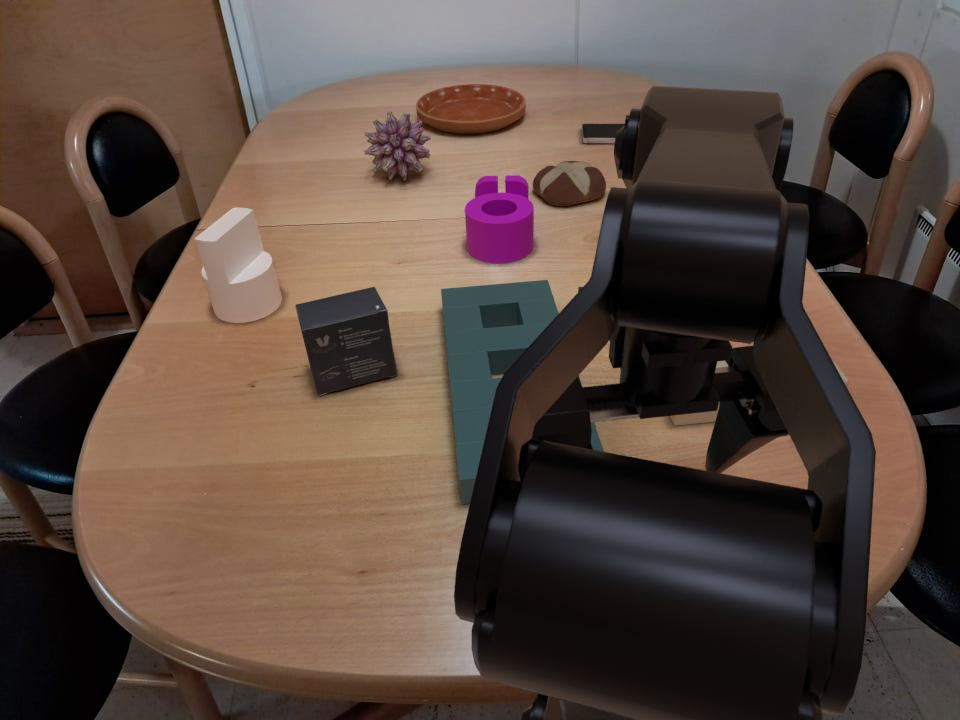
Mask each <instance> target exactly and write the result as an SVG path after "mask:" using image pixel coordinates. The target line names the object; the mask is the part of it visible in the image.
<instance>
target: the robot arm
mask: <svg viewBox="0 0 960 720" xmlns="http://www.w3.org/2000/svg"><path fill="white" fill-rule="evenodd" d="M624 119H625V120H624V124H625V125H624V126H623V127H622V128H621V129H620V130H619V131H617V133H616V138H615V143H613V144H614V146H613V158H614V163H615V169H616V176H617V179H620V180H621V179H622V183H623V184H624V186H625V187H615V186H611V187H610V188H609V192H608V195H607V198H606V200H605V201H606V202H605V206H604V211H603V214H602V219H601V225H600V230H599V234H598V239H597V244H596V248H595V254H594V258H593V259H594V260H593V265H592V269H591V273H590V277H589V279H588V281H587V282H586V283H585V284H584V285H583V286H579V287H578V288H577V289H578V290H577V293H576V294H575V295H574V296H573V297H572V298H571V299H570V301H569V302H568V303H566V305H565V306H564V307H563V308H562V309H561V310H560V311H559V312H558V313H559V314H558V315H557V316H556V317H555V318H554V319H553V321H552V322H551V323H550V324H549V325H548V326H547V327H546V328H545V329H544V330H543V332H542V333H541V334H540V335H539V336H538V337H537V338H536V339H535V340H534V341H533V342H532V344H531V345H530V346H529V347H528V348H527V349H526V350H525V351H524V352H523V353H522V355H521V356H520V357H519V358H518V359H517V360H516V361H515V362H514V363H513V364H512V366H511V367H510V368H509V369H508V370H507V371H506V372H505V373H503V375H502V377H501V378H502V379H501V381H500V382H499V384H498V386H497V388H496V393H495V397H494V401H493V406H492V410H491V414H490V419H489V423H488V427H487V432H486V436H485V440H484V445H483V449H482V453H481V458H480V462H479V466H478V471H477V475H476V479H475V484H474V488H473V493H472V497H471V501H470V504H469V507H468V509H467V514H466V519H465V523H464V524H465V525H464V527H463V533H462V536H461V541H460V547H459V552H458V557H457V562H456V567H455V568H456V569H455V577H454V589H453V601H454V610H455V615H456V617H458V619H459V620H461V621H466V622H468V623H469V622H470V623H472V627H471V652H472V657H473V663H474V666H475V668H476V669H477V672H478V673H479V675H480V676H481V678H482V679H484V680H489V681H492V682H495V683H498V684H503V685H506V686H508V687H513V688H517V689H521V690H525V691H526V692H532V693H534V694H535V696H534V700H533V703H532V705H530V706H529V707H527V708H526V709H524V710H523V711H522V715H521V718H520V719H521V720H823V714H826V715H828V716H837V715H841V714H844V713H845V711H846V709H847V707H848V705H849V704H850V702H851V701H852V699H853V697H854V694H855V691H856V688H857V684H858V680H859V675H860V673H861V669H862V662H863V653H864V646H865V639H866V638H865V637H866V627H867V610H868V595H869V592H868V591H869V576H870V559H871V544H872V543H871V542H872V525H873V509H874V508H873V507H874V492H875V474H876V473H875V472H876V457H877V450H876V445H875V442H874V438H873V434H872V431H871V429H870V427H869V425H868V424H867V422H866V420H865V418H864V417H863V414H862V413H861V411H860V409H859V407H858V405H857V403H856V402H855V400H854V398H853V396H852V394H851V392H850V390H849V389H848V387H846V385H845V383H844V381H843V379H842V378H841V376H840V374H839V372H838V370H837V368H836V367H835V365H834V363H833V361H834V360H833V361H832V359H833V358H832V357H831V355H830V353H829V352H828V350H827V348H826V346H825V345H824V342H823V341H822V338H821V336H820V335H819V333H818V332H817V330H816V328H815V326H814V324H813V322H812V320H811V318H810V316H809V315H808V313H807V311H806V309H805V307H804V304H803V303H804V302H803V299H804V290H805V289H804V288H805V279H806V278H805V277H806V268H807V260H808V259H807V258H808V248H809V235H810V211H809V205H808V204H805V203H797V202H787V201H788V200H786V198H785V196H784V195H783V194H782V193H781V189H782V185H783V183H784V179H785V176H786V172H787V168H788V163H789V159H790V153H791V149H792V144H793V143H792V141H793V134H794V118H793V117H786V115H785V110H784V104H783V98H782V96H781V95H780V93H779V92H776V91H757V90H754V91H753V90H737V89H722V88H721V89H717V88H700V87H683V86H680V87H679V86H664V85H663V86H661V85H653V86H652V87H650V88H649V89H648V90H647V92H646V95H645V97H644V99H643V102H642V104H641V108H631V109H630V112H629V114H626V115H625V118H624ZM731 342H734V343H741V344H748V345H746V346H745V345H744V346H736V347H733V345H732V343H731ZM608 343H609V347H608V348H609V349H608V360H609V362H610V364H611V367H612V369H620V373H619V383H610V384H599V385H593V386H592V385H591V386H583V385H582V386H581V384H582V381H581V378H580V379H579V377H580V375H581V373H582V372H583V371H585V369H586V368H587V367H588V366H589V365H590V363H592V361H593V360H594V359H595V358H596V357H597V356H598V355H599V353H600V352H601V351H602V350H603V349H604V348H605V347H606V345H607V344H608ZM752 343H753V344H752ZM751 344H752V345H751ZM831 358H832V359H831ZM717 361H726V363H727V365H728V366H729V367H720V368H716V366H717ZM580 381H581V382H580ZM718 404H719V410H718V414H717V417H716V421H715V422H714V424H713V429H712V431H711V435H710V439H709V442H708V446H707V450H706V454H705V455H706V457H705V461H704V462H705V464H704V468H705V470H704V469H698V468H694V467H688V466H683V465H678V464H677V465H676V464H672V463H667V462H661V461H657V460H650V459H646V458H645V459H644V458H639V457H633V456H628V455H623V454H618V453H611V452H607V451H604V452H602V451H596V450H593V448H592V445H591V434H592V429H591V423H592V422H594V423H600V422H608V421H618V420H628V419H637V418H639V419H640V420H644V419H654V418H663V417H670V416H674V415H683V414H692V413H701V412H711V411H717V408H718ZM788 436H789V438H790V439H791V441H792V443H793V446H794V448H795V449H796V452H797V453H798V455H799V457H800V459H801V462H802V464H803V466H804V467H805V470H806V472H807V476H808V478H807V488H803V487H802V488H801V487H797V486H792V485H786V484H780V483H775V482H769V481H763V480H758V479H754V478H748V477H741V476H737V475H732V474H726V473H723V472H724V471H726V470H728V469H729V468H730V467H732V466H734V465H736V463H738V462H739V461H741V460H742V459H744V458H746V457H747V456H749V455H750V454H753V452H756V451H757V450H759V449H761V448H762V447H764V446H766V445H767V444H769V443H772V442H773V441H774V440H776V439H779V438H781V437H788Z"/></svg>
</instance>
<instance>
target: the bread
mask: <svg viewBox="0 0 960 720" xmlns="http://www.w3.org/2000/svg"><path fill="white" fill-rule="evenodd" d="M532 188H533V191H534V192H535V194H536V195H538V196H540V197H541V198H542V199H543V200H544V201H545V202H547V203H548V204H549V205H552V206H554V207H569V206H574V205H579V204H581V203H586V202H591V201H595V200H597V199H598V200H599V199H600V198H601V197H602V196H603V195H604V194H605V192H606V189H607V182H606V178H605V176H604V174H603V173H602V171H601V170H600V169H599V168H598V167H596V166H595V167H594V166H592V165H591V164H590V163H588V162H586V161H579V160H563V161H560V162H559V163H557V164H556V165H547V166H545V167H543V168H541V169H540V170H539V171H538V172H537V173H536V174H535V176H534V177H533V180H532Z"/></svg>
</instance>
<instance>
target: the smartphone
mask: <svg viewBox="0 0 960 720" xmlns="http://www.w3.org/2000/svg"><path fill="white" fill-rule="evenodd" d="M624 125H625V123H582V124H581V135H582V136H581V137H582V143H584V144H615V138H616V133H617V131H619V130H620V129H621V128H622V127H623V126H624Z"/></svg>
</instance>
